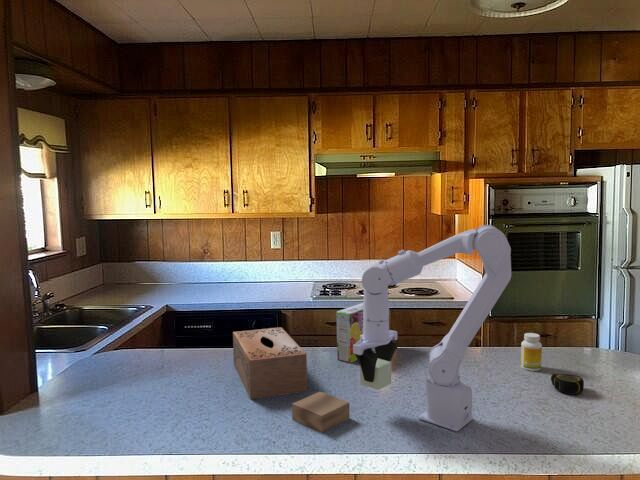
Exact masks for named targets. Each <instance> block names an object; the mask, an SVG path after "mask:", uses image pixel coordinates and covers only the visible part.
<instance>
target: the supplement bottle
mask: <svg viewBox="0 0 640 480" xmlns="http://www.w3.org/2000/svg"><path fill="white" fill-rule="evenodd" d="M523 335H524V336H523V341H521V344H520V345H521V346H520V364H519V365H520V368H521V369H522V370H525V371H531V372H536V371H540V370H541V368H542V357H543V356H542V353H543V345H542V343H541V342H540V340H541V335H540V334H539V333H534V332H525V333H524V334H523Z"/></svg>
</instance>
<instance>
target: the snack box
mask: <svg viewBox="0 0 640 480" xmlns="http://www.w3.org/2000/svg"><path fill="white" fill-rule="evenodd" d="M335 316H336V318H335V319H336V346H337V347H336V349H337V352H336V355H337V357H336V358H337V361H340V362H345V363H350V364H352V363H354V362H356V361H358V359H357V357H356V356H355V354H354V353H353V345H354V344H356V343H357V342H358V341H359V340H360V335H362V334H363V302H361V303H358V304H355V305H352V306H350V307H349V306H348V307H346V308H343V309H340V310H337V311H336V315H335ZM372 351H373V352H374V353H376V351H375V348H372Z"/></svg>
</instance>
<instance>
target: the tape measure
mask: <svg viewBox="0 0 640 480" xmlns="http://www.w3.org/2000/svg"><path fill="white" fill-rule="evenodd" d="M550 381H551V384H552V386H554V389H556V391H559V392H561V393H564V394H570V395H571V394H573V395H575V394H576V395H577V394H581V393H583V392H584V387H585V383H584V379H583V377H580V376H578V375H576V374H570V373H569V374H568V373H567V374H566V373H552V374H551V376H550Z"/></svg>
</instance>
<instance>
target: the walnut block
mask: <svg viewBox="0 0 640 480" xmlns="http://www.w3.org/2000/svg"><path fill="white" fill-rule="evenodd" d="M291 413H292V417H291V418H292V419H291V420H293V421H294V422H296V423H299V424H301V425H304V426H306V427H308V428H311V429H313V430H315V431H317V432H319V433H324V432H326V431H328V430H330V429H332V428H334V427H336V426H337V425H340V424H341V423H344V422H345V421H347V420H349V419H350V402H349V401H347V400H344V399H341V398H338V397H336V396H333V395H331V394H328V393H325V392H322V391H318V392H316V393H313V394H311V395H309V396H306V397H304V398H302V399H300V400H298V401H295V402H292V404H291Z"/></svg>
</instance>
